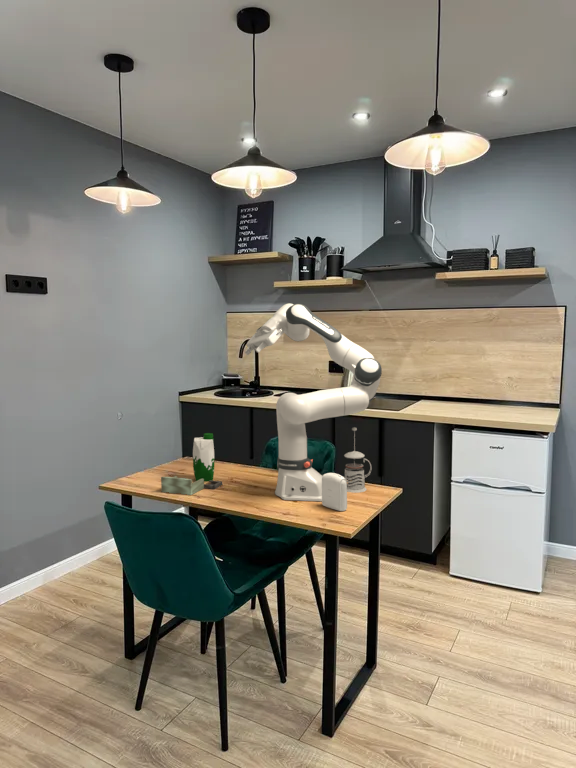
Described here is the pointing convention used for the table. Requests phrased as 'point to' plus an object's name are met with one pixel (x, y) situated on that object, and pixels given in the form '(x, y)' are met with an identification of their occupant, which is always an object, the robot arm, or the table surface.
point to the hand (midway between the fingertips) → (251, 352)
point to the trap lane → (186, 485)
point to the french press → (355, 485)
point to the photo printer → (334, 491)
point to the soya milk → (203, 457)
